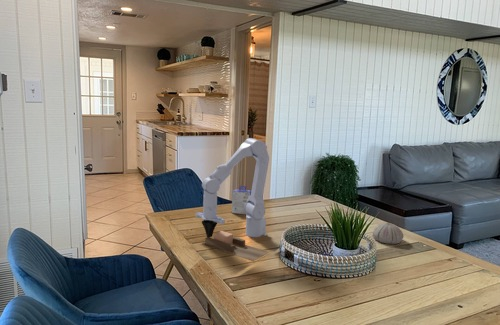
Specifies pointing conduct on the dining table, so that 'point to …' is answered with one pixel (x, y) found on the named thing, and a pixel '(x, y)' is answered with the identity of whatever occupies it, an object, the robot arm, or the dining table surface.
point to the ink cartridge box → (240, 200)
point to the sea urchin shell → (388, 233)
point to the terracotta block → (224, 237)
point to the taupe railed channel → (236, 248)
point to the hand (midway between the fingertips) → (209, 236)
